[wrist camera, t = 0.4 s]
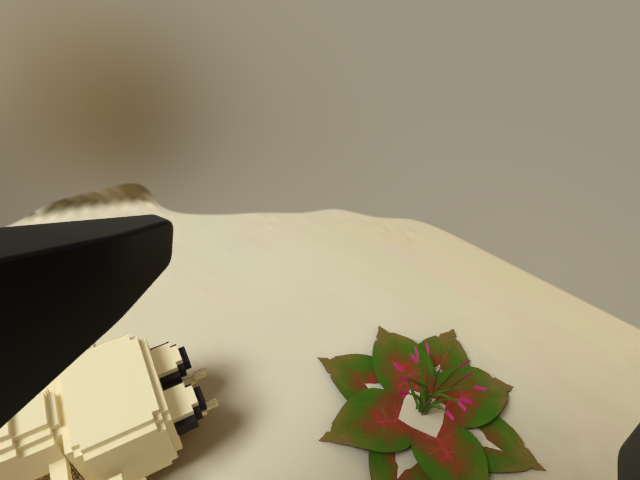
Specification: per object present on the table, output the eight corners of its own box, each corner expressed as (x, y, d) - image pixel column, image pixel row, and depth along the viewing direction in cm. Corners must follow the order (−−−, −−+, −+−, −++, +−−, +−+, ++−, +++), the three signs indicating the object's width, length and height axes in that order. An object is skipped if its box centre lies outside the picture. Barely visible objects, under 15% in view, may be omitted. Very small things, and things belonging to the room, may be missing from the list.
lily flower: (458, 314, 31) (480, 264, 28) (585, 497, 23) (635, 453, 20) (284, 349, 28) (288, 296, 25) (357, 581, 19) (377, 543, 16)
